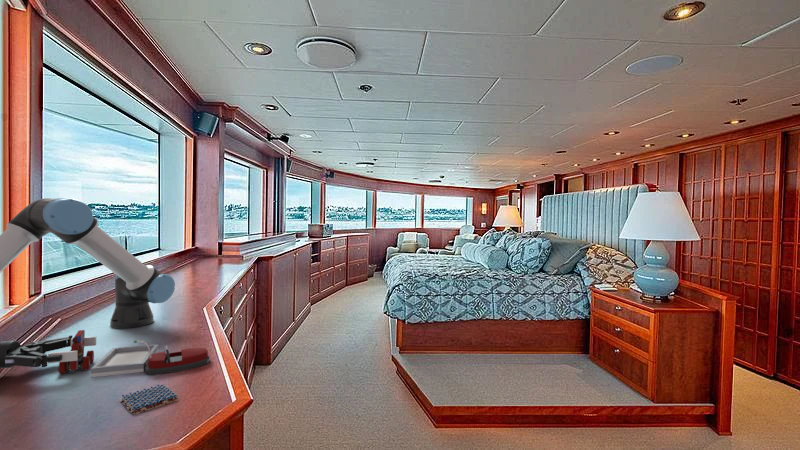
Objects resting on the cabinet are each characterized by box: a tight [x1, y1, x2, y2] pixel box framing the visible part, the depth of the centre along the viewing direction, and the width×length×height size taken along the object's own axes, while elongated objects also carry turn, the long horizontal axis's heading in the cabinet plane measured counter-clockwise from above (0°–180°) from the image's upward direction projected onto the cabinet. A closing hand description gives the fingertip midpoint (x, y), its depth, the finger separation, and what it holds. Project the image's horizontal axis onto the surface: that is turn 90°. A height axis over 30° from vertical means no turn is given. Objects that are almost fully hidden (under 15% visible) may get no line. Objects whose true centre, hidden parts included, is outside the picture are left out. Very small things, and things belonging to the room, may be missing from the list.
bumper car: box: [133, 339, 210, 376], centre depth 121 cm, size 10×20×10 cm, turn 123°
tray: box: [90, 344, 160, 378], centre depth 123 cm, size 18×13×2 cm
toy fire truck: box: [58, 329, 95, 374], centre depth 119 cm, size 7×12×10 cm, turn 29°
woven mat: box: [119, 384, 180, 415], centre depth 99 cm, size 10×11×2 cm
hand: (87, 347), depth 120 cm, fingers open, 13 cm apart
